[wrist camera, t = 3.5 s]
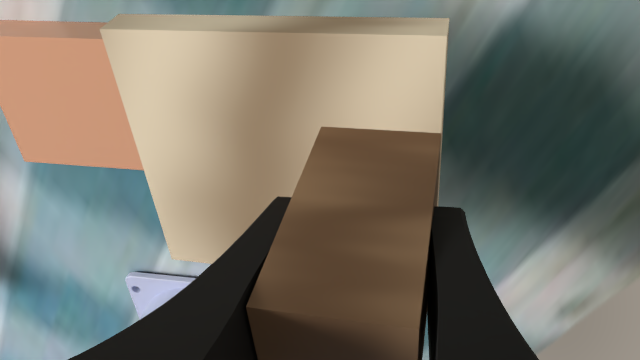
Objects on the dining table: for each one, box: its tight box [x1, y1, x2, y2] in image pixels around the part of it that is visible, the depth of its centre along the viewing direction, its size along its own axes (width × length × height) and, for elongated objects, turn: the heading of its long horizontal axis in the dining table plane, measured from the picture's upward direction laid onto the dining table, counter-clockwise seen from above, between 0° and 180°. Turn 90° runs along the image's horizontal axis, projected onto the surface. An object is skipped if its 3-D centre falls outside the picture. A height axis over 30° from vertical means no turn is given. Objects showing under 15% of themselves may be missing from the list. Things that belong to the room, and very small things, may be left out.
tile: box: [0, 20, 144, 170], centre depth 25 cm, size 6×6×2 cm
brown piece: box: [100, 14, 449, 360], centre depth 14 cm, size 8×8×7 cm
